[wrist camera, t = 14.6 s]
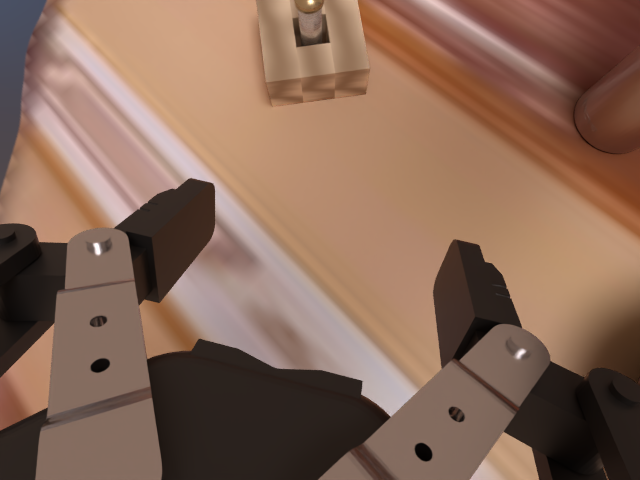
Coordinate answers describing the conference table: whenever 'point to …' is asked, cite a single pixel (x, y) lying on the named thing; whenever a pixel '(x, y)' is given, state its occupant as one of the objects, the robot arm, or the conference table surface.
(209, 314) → the conference table surface
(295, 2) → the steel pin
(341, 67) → the maple hitch block
